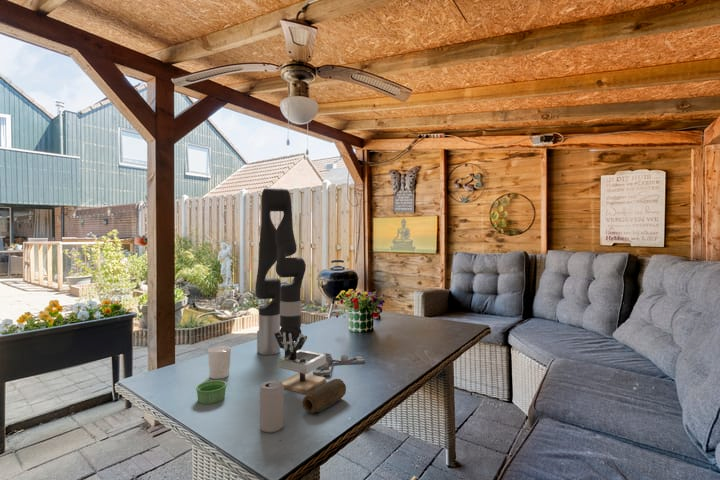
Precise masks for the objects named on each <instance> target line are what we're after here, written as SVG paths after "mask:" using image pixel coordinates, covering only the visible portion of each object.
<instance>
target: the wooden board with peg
mask: <svg viewBox="0 0 720 480" xmlns="http://www.w3.org/2000/svg"><path fill="white" fill-rule="evenodd" d="M298 362H303V363H306V362H307V361H306V360H305V359H304V358H301V359H300V360H298ZM281 382H282V384H283V385H282V386H283V387H284V390H285V389H286V390H290V391H293V392H298V393H302V394H304V395H305V394H306V395H307V394H309V393H310V392H311V391H313V390H315V389H316V388H318V387H320V386H321V385H323V384H325V383H326V382H327V378H326V377H325V376H321V375H319V376H318V375H317V376H315V375H313V374H310V373H308V374H304V373H299V372H295V374H292V375H290V376H289V377H287V378H285V379H284V380H282V381H281Z"/></svg>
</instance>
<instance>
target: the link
mask: <svg viewBox="0 0 720 480" xmlns="http://www.w3.org/2000/svg"><path fill="white" fill-rule="evenodd" d="M326 354H327V353H326ZM326 354H324V353H319V352H315V351H307V350H302V349H300V350H298V351H296V360H295V361H293V360H290V354H289V355H286V356H285V355H284V356H281V357H280V358H278V359H277V368H278V369H280V370H286V371H289V372H290V371H291V372H295V373H298V372H299V373H304V374H310V373H311V372H313V371H315V370H317V369H318V368H321V365H323V364H325V363H326ZM301 358H304V359H305V360H306V363H303V362H299V361H300V359H301Z"/></svg>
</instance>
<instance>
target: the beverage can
mask: <svg viewBox="0 0 720 480" xmlns="http://www.w3.org/2000/svg"><path fill="white" fill-rule="evenodd" d="M282 385H283V384H282V381H280V380H269V381H265V382H263V383H262V384H261V386H260V387H261V388H260V389H259V429H260V431H263V432H264V433H267V434H268V433H269V434H270V433H277V432H278V431H280V430H281V429H282V428H283V426H284V425H285V424H284V423H285V422H284V420H285V419H284V417H285V409H284V407H285V389H284V387H283V386H282Z"/></svg>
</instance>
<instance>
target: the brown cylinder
mask: <svg viewBox="0 0 720 480" xmlns="http://www.w3.org/2000/svg"><path fill="white" fill-rule="evenodd" d="M346 392H347V386H346V383H345V382H344V381H343V380H342V379H341V378H333V379H331V380H329V381H326V382H324V383H322V384H321V385H319V386H318V387H316V388H315V389H313V390H312V391H310V392H309V393H307V394H306V395H305V396H304V397H303V399H302V407H303V409H304V410H306V412H308V413H311V414H314V413H319V412H320V411H323V410H325V409H326V408H328V407H330V406H331V405H334V403H336V402H338V401H339V400H341V399H342V398H343V397H344V396H345V395H346Z"/></svg>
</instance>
